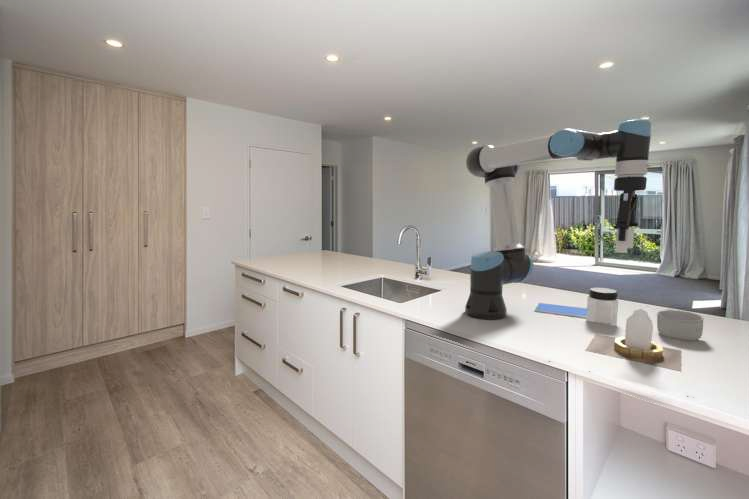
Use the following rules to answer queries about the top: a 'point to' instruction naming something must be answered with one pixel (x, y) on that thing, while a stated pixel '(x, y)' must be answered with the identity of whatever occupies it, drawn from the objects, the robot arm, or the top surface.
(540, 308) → the tablet computer
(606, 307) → the jar
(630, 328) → the white tall rounded piece
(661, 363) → the walnut board
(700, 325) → the teacup
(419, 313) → the top surface
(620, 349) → the collar
